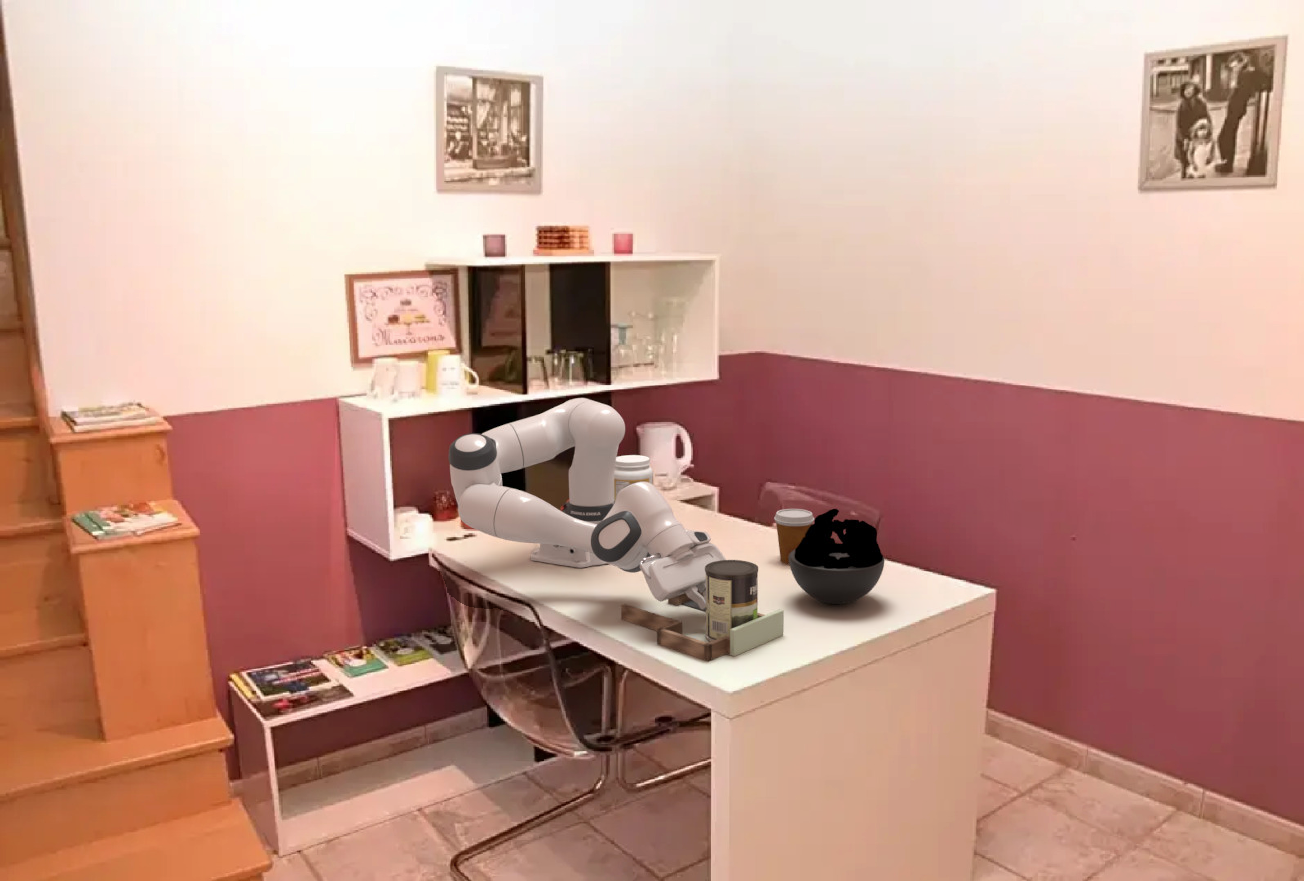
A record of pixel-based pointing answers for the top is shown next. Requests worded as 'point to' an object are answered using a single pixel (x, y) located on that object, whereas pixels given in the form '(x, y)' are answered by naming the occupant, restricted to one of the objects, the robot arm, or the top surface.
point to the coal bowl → (837, 560)
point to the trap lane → (677, 630)
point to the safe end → (756, 632)
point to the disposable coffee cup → (791, 529)
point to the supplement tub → (631, 471)
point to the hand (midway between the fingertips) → (708, 606)
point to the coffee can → (730, 596)
